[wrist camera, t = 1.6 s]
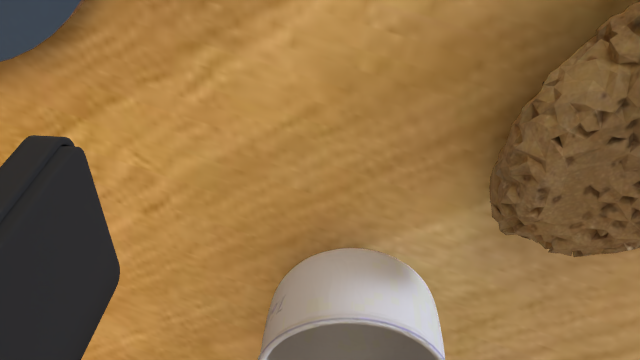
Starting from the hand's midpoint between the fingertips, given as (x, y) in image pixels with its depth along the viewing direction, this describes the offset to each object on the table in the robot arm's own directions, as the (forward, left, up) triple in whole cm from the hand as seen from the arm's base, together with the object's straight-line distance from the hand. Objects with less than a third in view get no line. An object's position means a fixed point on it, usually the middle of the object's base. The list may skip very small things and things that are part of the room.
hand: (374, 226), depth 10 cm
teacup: (+25, 0, -20) cm, 32 cm away
